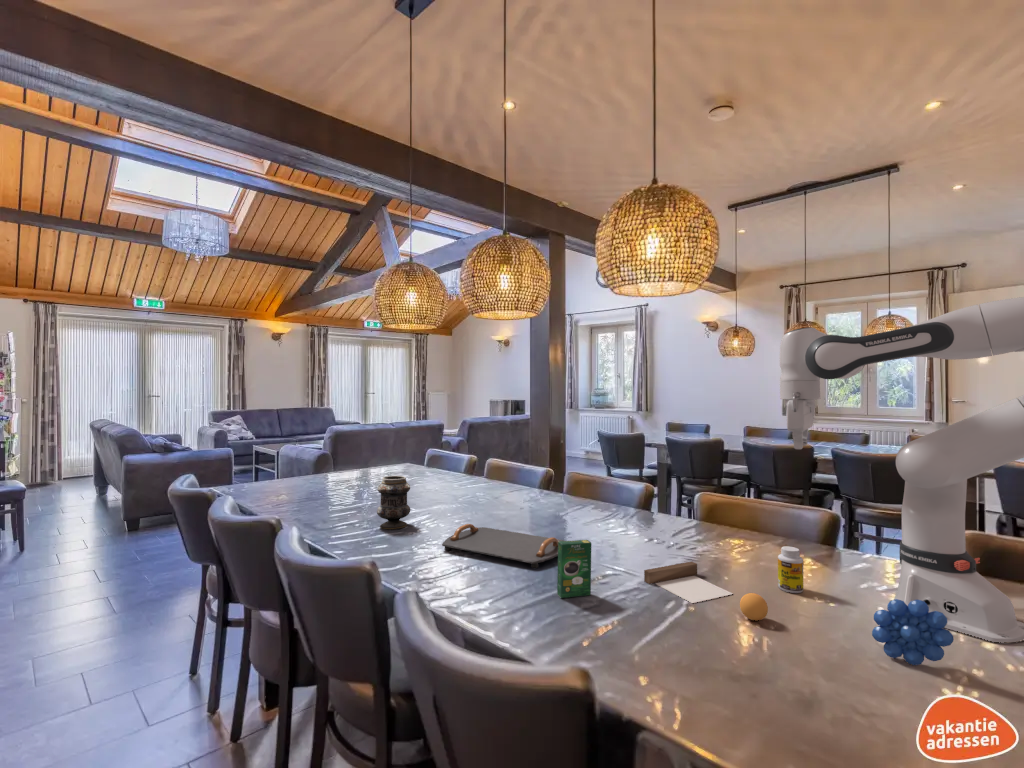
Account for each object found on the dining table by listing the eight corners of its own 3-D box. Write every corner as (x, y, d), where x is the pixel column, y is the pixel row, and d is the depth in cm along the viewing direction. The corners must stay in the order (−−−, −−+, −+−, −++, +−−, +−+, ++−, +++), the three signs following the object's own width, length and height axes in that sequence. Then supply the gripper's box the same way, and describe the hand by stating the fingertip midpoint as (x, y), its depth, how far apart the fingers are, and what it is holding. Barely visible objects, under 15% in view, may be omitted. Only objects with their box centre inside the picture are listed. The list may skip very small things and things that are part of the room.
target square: (733, 594, 122) (733, 593, 122) (692, 603, 117) (692, 603, 117) (694, 576, 134) (694, 575, 134) (655, 584, 128) (655, 583, 128)
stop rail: (697, 574, 135) (697, 563, 135) (649, 584, 128) (649, 572, 128) (691, 572, 137) (691, 561, 137) (644, 581, 130) (644, 570, 130)
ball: (773, 622, 107) (773, 596, 107) (755, 627, 105) (755, 601, 105) (752, 611, 112) (752, 587, 112) (734, 616, 110) (734, 591, 110)
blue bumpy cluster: (955, 666, 90) (954, 599, 90) (953, 683, 85) (952, 612, 85) (875, 644, 98) (874, 582, 98) (870, 658, 93) (869, 593, 93)
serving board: (433, 552, 157) (433, 532, 157) (475, 533, 177) (475, 515, 177) (543, 574, 137) (543, 552, 137) (576, 551, 157) (576, 531, 157)
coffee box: (587, 591, 124) (587, 538, 124) (592, 595, 121) (591, 541, 122) (556, 594, 122) (556, 540, 122) (560, 599, 119) (560, 544, 120)
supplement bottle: (777, 591, 124) (777, 549, 124) (778, 583, 129) (778, 543, 129) (803, 595, 121) (803, 553, 121) (803, 587, 126) (803, 547, 126)
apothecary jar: (417, 524, 186) (417, 476, 187) (393, 532, 176) (393, 481, 176) (393, 520, 193) (393, 473, 193) (369, 527, 183) (369, 478, 183)
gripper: (809, 392, 116) (810, 452, 116) (818, 392, 133) (819, 444, 133) (779, 392, 120) (780, 450, 120) (791, 392, 137) (792, 443, 136)
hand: (800, 447), depth 126 cm, fingers open, 8 cm apart
